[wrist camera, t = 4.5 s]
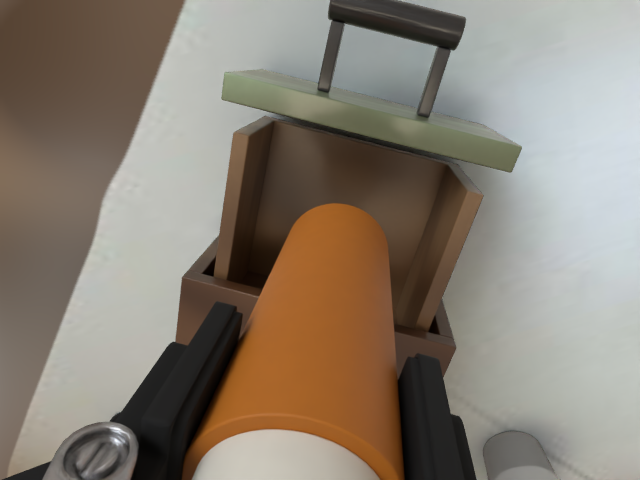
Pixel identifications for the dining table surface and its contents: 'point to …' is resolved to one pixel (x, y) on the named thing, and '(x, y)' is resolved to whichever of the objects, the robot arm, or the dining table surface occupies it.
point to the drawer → (358, 163)
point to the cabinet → (206, 290)
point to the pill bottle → (311, 365)
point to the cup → (516, 458)
